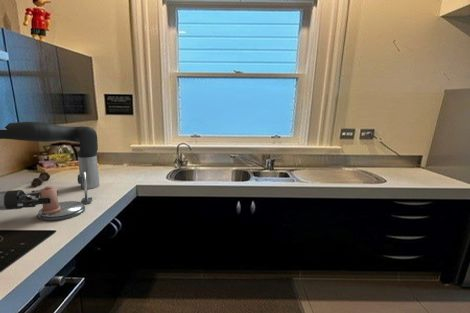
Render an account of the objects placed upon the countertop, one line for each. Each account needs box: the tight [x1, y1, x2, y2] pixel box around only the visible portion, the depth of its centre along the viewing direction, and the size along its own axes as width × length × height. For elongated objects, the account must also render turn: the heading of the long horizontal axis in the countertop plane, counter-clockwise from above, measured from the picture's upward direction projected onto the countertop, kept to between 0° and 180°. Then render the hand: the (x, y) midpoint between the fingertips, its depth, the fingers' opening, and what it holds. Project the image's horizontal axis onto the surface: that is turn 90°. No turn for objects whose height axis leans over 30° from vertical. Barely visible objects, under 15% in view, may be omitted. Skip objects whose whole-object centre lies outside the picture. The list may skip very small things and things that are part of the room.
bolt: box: [30, 171, 51, 188], centre depth 158 cm, size 6×5×15 cm
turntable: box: [38, 200, 85, 218], centre depth 118 cm, size 16×16×1 cm
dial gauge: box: [77, 172, 94, 205], centre depth 129 cm, size 4×4×15 cm
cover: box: [39, 185, 61, 214], centre depth 113 cm, size 7×7×10 cm
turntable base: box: [37, 204, 86, 222], centre depth 118 cm, size 17×17×1 cm
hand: (54, 196), depth 113 cm, fingers open, 8 cm apart
